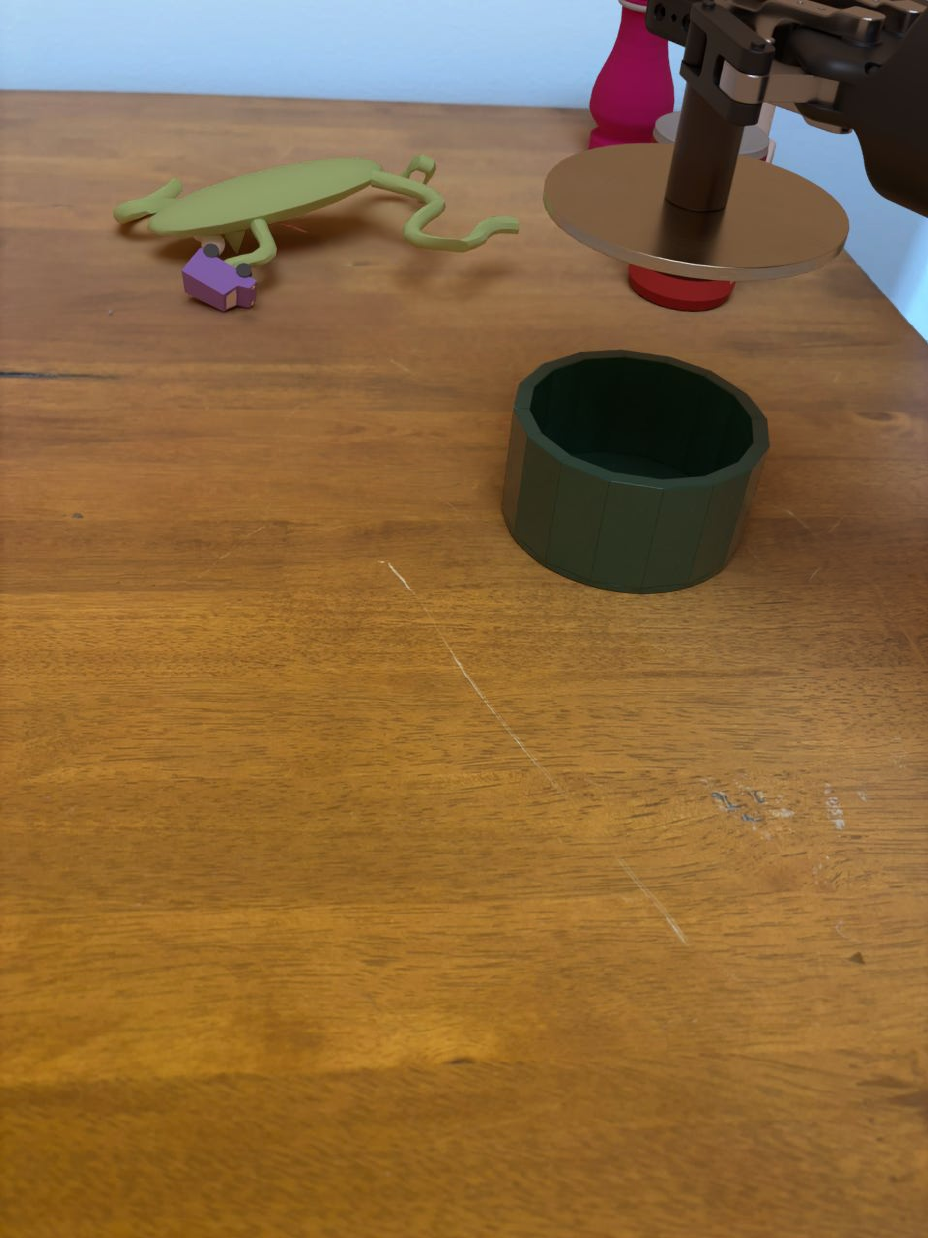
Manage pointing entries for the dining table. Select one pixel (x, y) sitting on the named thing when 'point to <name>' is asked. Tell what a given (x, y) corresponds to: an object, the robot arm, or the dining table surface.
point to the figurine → (283, 217)
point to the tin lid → (696, 204)
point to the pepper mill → (632, 83)
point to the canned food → (679, 288)
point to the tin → (632, 469)
